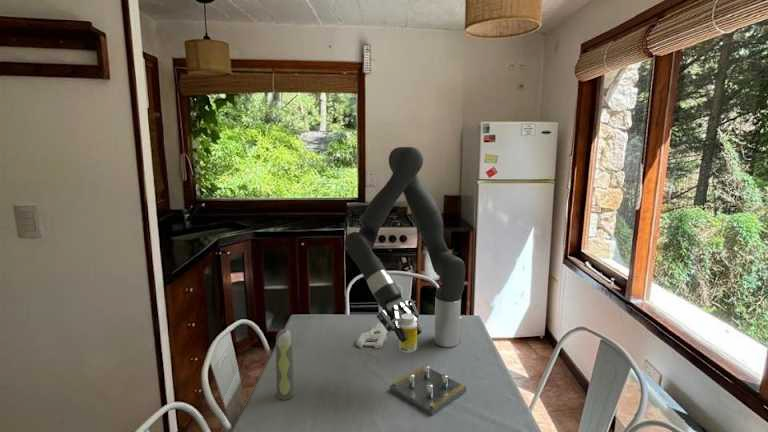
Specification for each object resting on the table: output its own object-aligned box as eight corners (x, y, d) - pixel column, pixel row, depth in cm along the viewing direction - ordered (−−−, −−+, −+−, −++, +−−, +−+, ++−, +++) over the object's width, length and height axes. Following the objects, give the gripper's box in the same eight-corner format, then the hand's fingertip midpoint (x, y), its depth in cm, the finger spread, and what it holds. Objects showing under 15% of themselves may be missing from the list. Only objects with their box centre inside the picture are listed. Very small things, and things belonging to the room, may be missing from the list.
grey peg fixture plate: (424, 370, 133) (425, 355, 132) (466, 391, 122) (466, 376, 121) (389, 390, 122) (390, 374, 121) (431, 415, 111) (432, 398, 110)
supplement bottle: (420, 350, 120) (420, 318, 118) (403, 355, 118) (403, 321, 116) (411, 342, 125) (411, 310, 123) (395, 346, 122) (394, 314, 121)
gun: (368, 318, 164) (393, 321, 161) (368, 326, 165) (392, 329, 162) (354, 341, 147) (381, 345, 144) (354, 350, 147) (381, 354, 145)
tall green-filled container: (293, 399, 117) (291, 334, 113) (276, 401, 116) (273, 335, 113) (294, 389, 122) (292, 326, 118) (277, 391, 121) (275, 327, 117)
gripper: (371, 288, 118) (401, 340, 112) (406, 276, 128) (435, 324, 122) (360, 300, 123) (388, 351, 117) (394, 288, 133) (421, 334, 126)
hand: (412, 337), depth 119 cm, fingers closed on supplement bottle, 5 cm apart
